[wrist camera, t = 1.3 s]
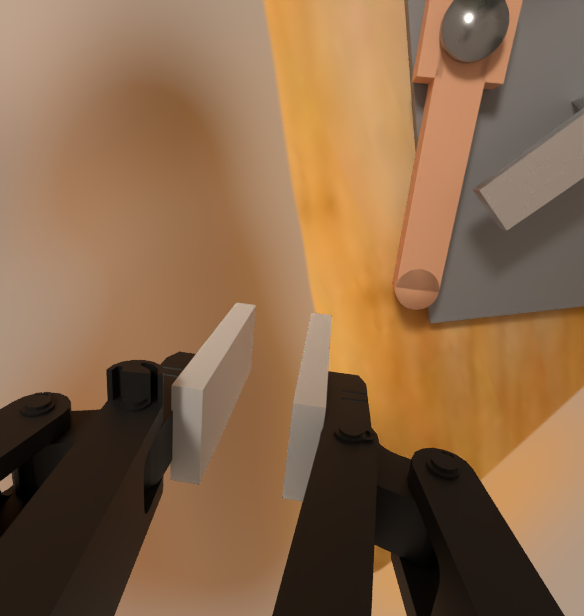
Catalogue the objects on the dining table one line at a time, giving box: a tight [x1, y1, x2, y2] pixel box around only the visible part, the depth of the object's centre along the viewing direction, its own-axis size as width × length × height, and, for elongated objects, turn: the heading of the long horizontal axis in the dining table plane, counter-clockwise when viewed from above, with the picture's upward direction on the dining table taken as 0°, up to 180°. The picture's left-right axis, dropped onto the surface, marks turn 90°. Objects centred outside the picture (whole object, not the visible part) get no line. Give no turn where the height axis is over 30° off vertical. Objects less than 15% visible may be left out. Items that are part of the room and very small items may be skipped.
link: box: [393, 0, 523, 310], centre depth 28 cm, size 20×5×2 cm, turn 174°
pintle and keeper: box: [440, 0, 584, 230], centre depth 26 cm, size 13×14×5 cm
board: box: [405, 0, 584, 323], centre depth 29 cm, size 26×14×1 cm, turn 9°
